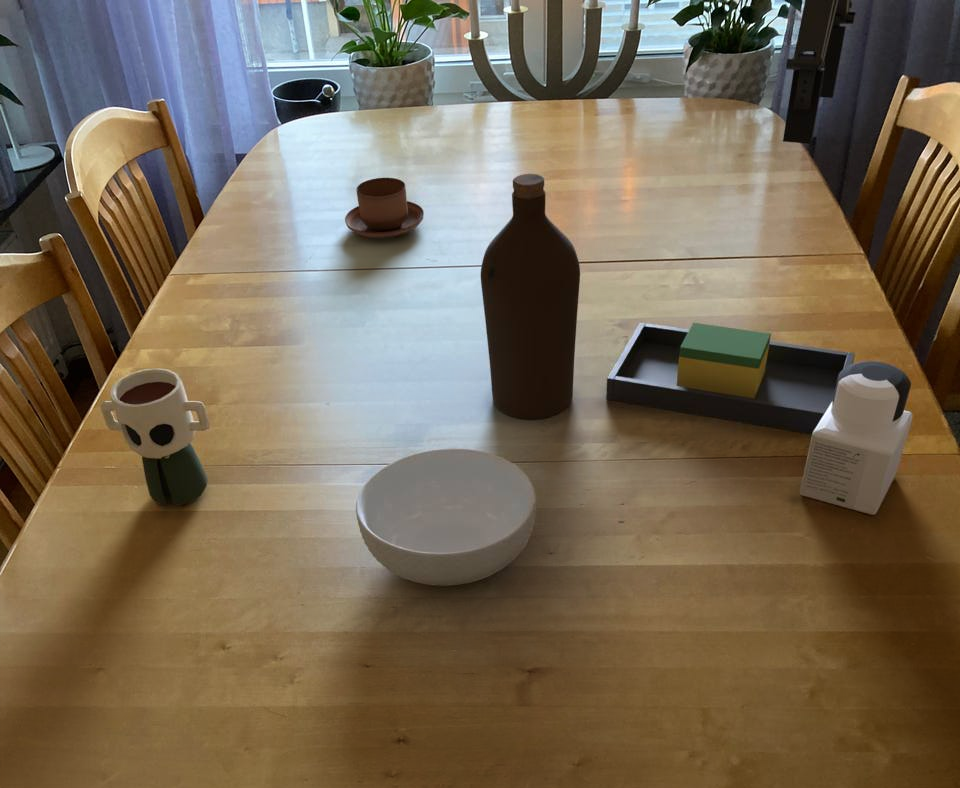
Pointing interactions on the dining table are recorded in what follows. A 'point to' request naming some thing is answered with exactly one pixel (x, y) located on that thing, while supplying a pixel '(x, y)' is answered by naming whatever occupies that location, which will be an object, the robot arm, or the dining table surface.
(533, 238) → the olive oil
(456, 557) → the cereal bowl
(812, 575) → the dining table surface
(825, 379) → the tray
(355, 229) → the cup and saucer
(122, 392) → the character mug
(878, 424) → the container
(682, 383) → the sponge
